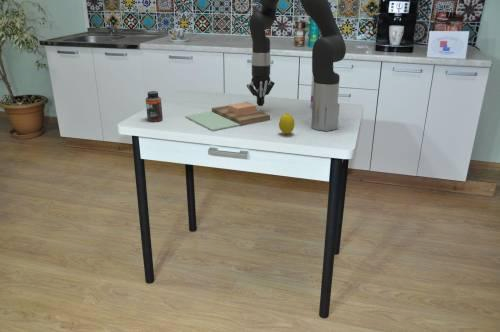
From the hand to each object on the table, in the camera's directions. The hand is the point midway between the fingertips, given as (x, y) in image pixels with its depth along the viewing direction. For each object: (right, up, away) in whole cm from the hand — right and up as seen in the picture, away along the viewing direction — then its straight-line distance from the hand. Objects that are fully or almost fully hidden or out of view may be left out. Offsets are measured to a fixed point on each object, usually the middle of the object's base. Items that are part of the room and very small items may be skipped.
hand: (260, 105), depth 196 cm
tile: (-7, -3, -4) cm, 9 cm away
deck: (-8, -5, -4) cm, 11 cm away
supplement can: (+26, 0, +9) cm, 27 cm away
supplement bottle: (-42, -7, -10) cm, 44 cm away
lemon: (+9, -14, -26) cm, 31 cm away
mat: (-19, -8, -11) cm, 24 cm away
